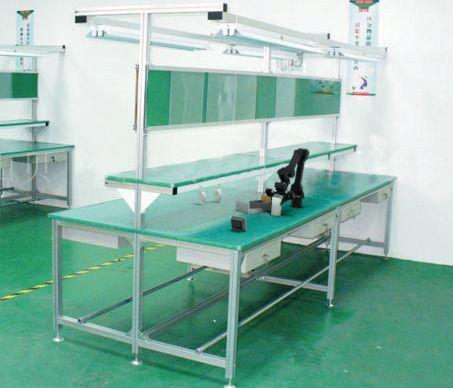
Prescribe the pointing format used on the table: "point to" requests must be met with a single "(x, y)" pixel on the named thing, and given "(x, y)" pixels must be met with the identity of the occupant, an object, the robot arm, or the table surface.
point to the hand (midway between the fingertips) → (275, 204)
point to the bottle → (276, 205)
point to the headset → (203, 197)
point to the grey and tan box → (261, 203)
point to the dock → (246, 208)
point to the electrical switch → (238, 223)
